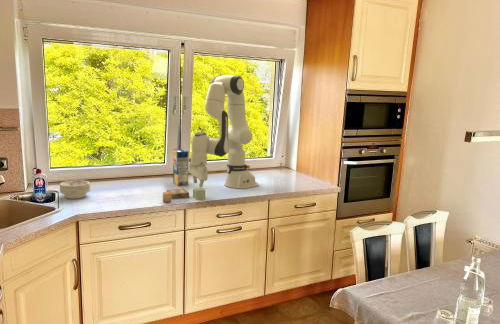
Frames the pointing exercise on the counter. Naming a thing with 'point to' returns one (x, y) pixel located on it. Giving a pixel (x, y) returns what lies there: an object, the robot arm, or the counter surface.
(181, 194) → the walnut plinth
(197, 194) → the green block
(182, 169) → the beverage box
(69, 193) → the paper bowls
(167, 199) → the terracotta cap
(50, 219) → the counter surface
